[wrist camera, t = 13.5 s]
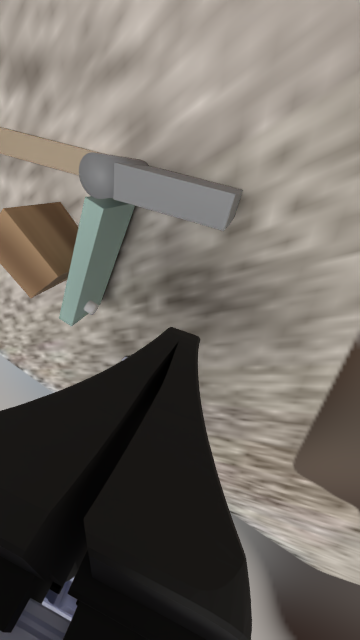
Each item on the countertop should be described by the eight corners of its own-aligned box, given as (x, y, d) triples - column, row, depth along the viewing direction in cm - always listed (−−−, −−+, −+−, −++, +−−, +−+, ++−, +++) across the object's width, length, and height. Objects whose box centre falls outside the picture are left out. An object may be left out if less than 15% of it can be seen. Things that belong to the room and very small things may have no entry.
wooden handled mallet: (233, 220, 15) (222, 235, 11) (-23, 148, 18) (-106, 140, 14) (244, 186, 14) (236, 189, 10) (-31, 115, 17) (-124, 95, 13)
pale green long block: (112, 187, 16) (74, 189, 13) (144, 208, 16) (114, 215, 13) (83, 293, 22) (51, 313, 18) (106, 308, 22) (79, 331, 18)
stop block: (60, 201, 18) (3, 208, 14) (99, 256, 20) (58, 276, 16) (36, 228, 20) (-20, 240, 16) (73, 276, 22) (30, 298, 18)
